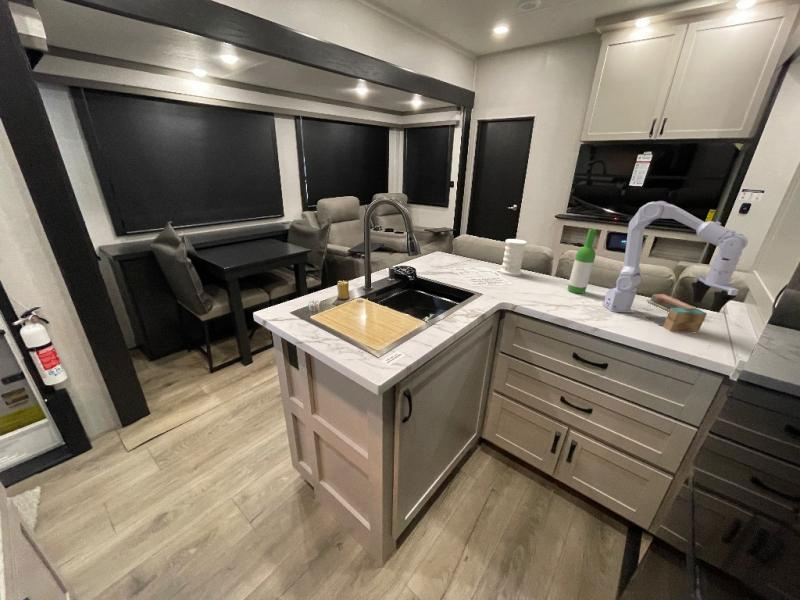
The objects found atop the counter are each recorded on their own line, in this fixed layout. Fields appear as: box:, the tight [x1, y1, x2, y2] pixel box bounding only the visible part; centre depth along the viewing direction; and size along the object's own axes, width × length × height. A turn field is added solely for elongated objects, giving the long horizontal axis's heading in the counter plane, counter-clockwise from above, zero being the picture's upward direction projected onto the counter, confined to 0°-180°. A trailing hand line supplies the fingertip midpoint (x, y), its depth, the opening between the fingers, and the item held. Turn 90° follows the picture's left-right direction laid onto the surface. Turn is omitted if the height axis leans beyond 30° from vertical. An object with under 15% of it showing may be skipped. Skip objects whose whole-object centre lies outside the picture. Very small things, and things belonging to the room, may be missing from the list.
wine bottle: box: [567, 228, 597, 295], centre depth 145 cm, size 8×8×30 cm
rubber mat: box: [646, 315, 667, 327], centre depth 123 cm, size 12×8×1 cm, turn 86°
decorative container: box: [499, 238, 528, 277], centre depth 172 cm, size 12×12×18 cm
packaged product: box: [646, 293, 698, 313], centre depth 133 cm, size 18×5×10 cm
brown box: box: [662, 308, 707, 334], centre depth 116 cm, size 10×4×8 cm, turn 86°
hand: (705, 306), depth 111 cm, fingers open, 7 cm apart
